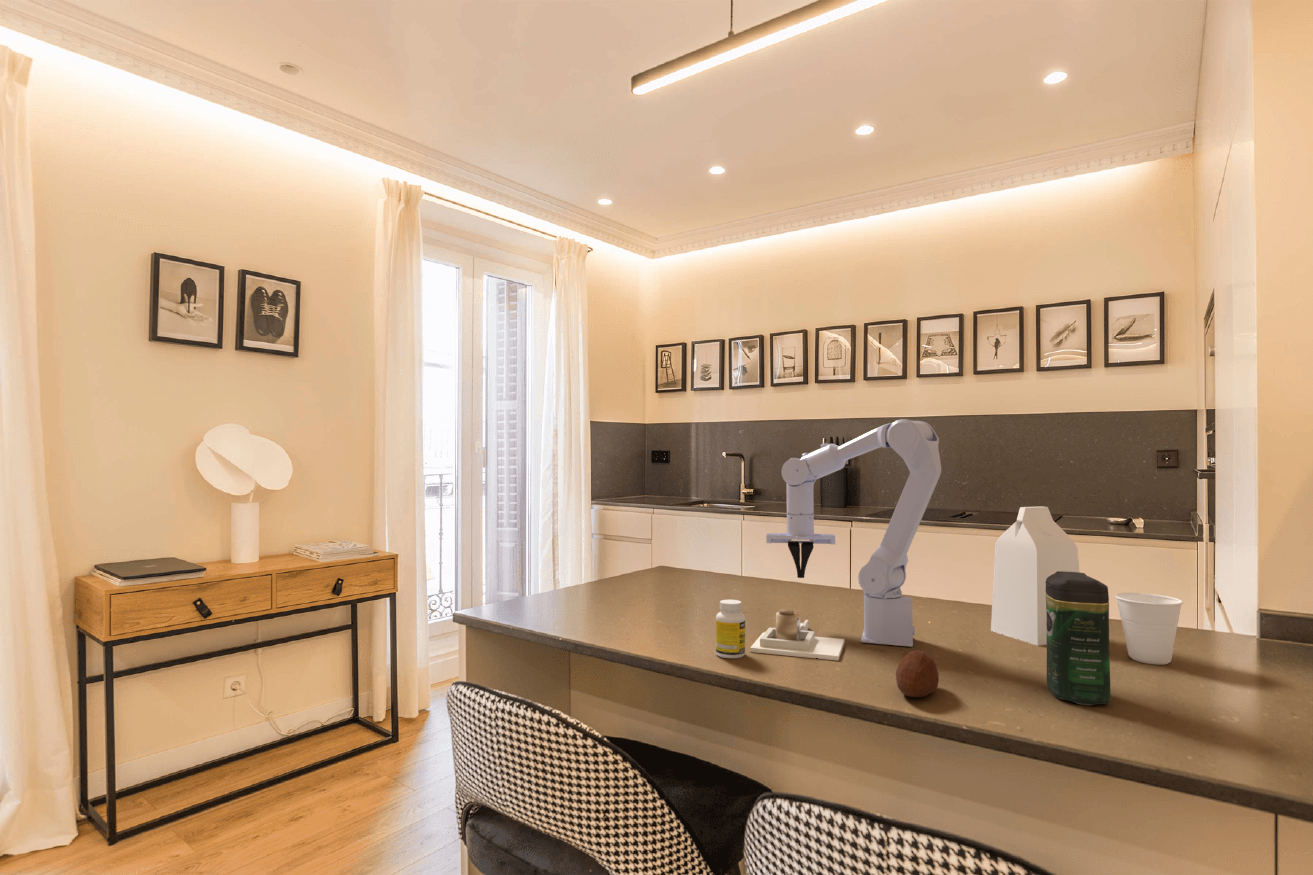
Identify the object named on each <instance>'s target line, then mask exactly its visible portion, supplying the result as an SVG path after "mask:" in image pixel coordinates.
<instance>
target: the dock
mask: <svg viewBox="0 0 1313 875" xmlns="http://www.w3.org/2000/svg"><path fill="white" fill-rule="evenodd" d="M815 633H816V631H815V630H809V619H805V620H804V622H800V630H799V633H798V634H797V641H794V640H783V639H776V627H768V628H767V630H766V631H763V632H762V633H761V634H760V636H759V637H758V638H756V640H755V641H754V642H753V644H752V645H751V646H750V650H749V651H750V653H757V654H768V655H775V656H776V655H777V656H787V657H789V656H790V657H797V658H806V659H807V658H808V659H809V658H810V659H816V658H818V660H827V661H838V662H839V660H840V657H841V654H842V652H843V648H844V647H845V639H844V638H835V637H823V636H816V634H815Z"/></svg>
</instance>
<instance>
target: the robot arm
mask: <svg viewBox="0 0 1313 875" xmlns="http://www.w3.org/2000/svg"><path fill="white" fill-rule="evenodd" d="M939 443H940V438H939V436H938V435H937V432H936V431H935V430H934V428H933V427H932V426H931V424H930V423H928V422H925V421H922V420H910V419H905V418H901V419H897V420H895V421H894V422H892V423H891V422H888V423H885V424H883V425H881V426H879V427H876V428H874V429H872V430H870V431H867V432H866V433H863V434H862V435H859V436H858V437H856V438H853V439H852V440H849V441H847V442H845V443H843V444H841V445H840V446H839V445H837V444H835V443H828V442H825V443H822V444H820V445H819V446H820V448H819V449H816V450H814V451H811V452H804V453H802V454H801V458H797V457H790V458H789V459H788V460H786V461H785V462H784V463H783V464H782V467H781V478H782V479H783V481H784V482H785V483H786V532H785V533H784V532H781V533H778V532H776V533H772V532H771V533H765V534H766V536H765V537H766V542H765V543H766V544H787V547H788V550H789V552H790V554H791V556H792V559H793V561H794V564H795V568H796V574H797V576H796V577H797V578H798V579H805V574H806V569H807V566H808V565H807V564H808V562H809V559H810V556H811V555H812V552H813V550H814V545H815V544H816V545H817V544H820V545H825V544H826V545H836V534H831V533H830V534H827V533H815V523H814V522H815V520H814V518H815V517H814V516H815V515H814V514H815V513H814V510H815V509H814V506H815V504H814V503H815V502H814V485H815V483H816V481H817V480H819V479H821V478H823V477H825V476H829V475H831V474H833V473H835V472H837V471H840V470H842V469H844V467H845V466H846V463H847V461H848V460H850V459H853V458H856V457H858V456H861V455H864V454H866V453H869V452H872V451H874V450H878V449H880V448H887V449H888V448H889V449H890V448H891V449H892V450H893V451H894V452H895V453H896V454H897V455H899V457H901V458H902V459H903V461H904V463H905V465H906V467H907V469H908V471H909V475H908V478H907V480H906V482H905V485H904V487H903V489H902V492H901V495H900V497H899V499H898V501H897V503H896V506H895V508H894V511H893V514H892V516H891V518H890V521H889V523H888V526H887V528H886V530H885V533H884V535H883V538H882V540H881V542H880V545H879V546H878V547H877V548H876V550H875V551H874V552H873V553H872V554H871V555H870V556H871V557H870V559H869V561H868V562H867V563H866V564H865V565H863V566H862V567H861V569H860V570H859V571H858V572H859V573H858V578H857V580H858V584H859V586H860V587H861V589H862V590H863V623H864V624H863V626H864V627H863V631H862V635H861V638H860V642H861V643H863V644H864V643H865V644H866V643H867V644H876V645H889V646H891V645H892V646H899V647H900V646H901V647H911V648H912V647H914V636H915V634H916V633H915V632H916V631H915V628H916V627H915V625H914V624H913V623H914V622H913V619H914V618H913V616H914V615H913V597H911V596H904V595H903V592H902V590H901V587H902V586H903V585H904V584H905V581H906V578H907V573H906V572H907V571H906V568H907V564H908V562H909V558H908V552H909V550H910V546H911V544H912V543H913V540H914V538H915V535H916V533H917V530H918V528H919V527H920V523H921V521H922V519H923V517H924V514H925V512H926V510H927V508H928V505H929V503H930V500H931V498H932V495H933V493H934V491H935V489H936V486H937V483H938V481H939V479H940V477H941V475H942V464H941V457H940V450H939Z"/></svg>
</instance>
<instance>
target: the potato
mask: <svg viewBox="0 0 1313 875" xmlns="http://www.w3.org/2000/svg"><path fill="white" fill-rule="evenodd" d="M895 677H896V678H895V680H896V686H897V688H898V690H899V691H900V692H901V694H903V695H905V696H907V697H909V698H917V699H918V698H922V697H923V698H924V697H926V696H928V695H930V694H932V693H933V692H935V691H936V690H937V688H938V686H939V681H940V680H939V677H940V676H939V670H938V667H937V663H936V662H935V661H934V659H933V657H932V656H931V655H930V654H928V652H926V651H924V650H923V651H922V650H919V649H917V650H913V651H910V652H908V653H907V654H906V655H905V656H904V657H902V658H901V660H900V662H899V663H898V665H897V668H896V671H895Z"/></svg>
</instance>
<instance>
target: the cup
mask: <svg viewBox="0 0 1313 875" xmlns="http://www.w3.org/2000/svg"><path fill="white" fill-rule="evenodd" d="M1114 597H1115V599H1116V602H1117V606H1118V611H1119V617H1120V619H1121V625H1122V629H1123V635H1124V640H1125V643H1126V644H1125V645H1126V650H1127V653H1128V656H1129V657H1130V659H1132V660H1133V661H1136V662H1139V663H1142V664H1148V665H1158V666H1163V665H1168V664H1169V663H1171V662H1172V659H1173V658H1172V657H1173V652H1174V647H1175V641H1176V634H1177V631H1178V630H1177V629H1178V624H1179V620H1180V614H1181V608H1182V605H1183V604H1184V601H1183V600H1181V599H1179V598H1176V597H1173V596H1168V595H1162V594H1157V593H1156V594H1154V593H1146V592H1120V593H1116V594H1115V595H1114Z"/></svg>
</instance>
